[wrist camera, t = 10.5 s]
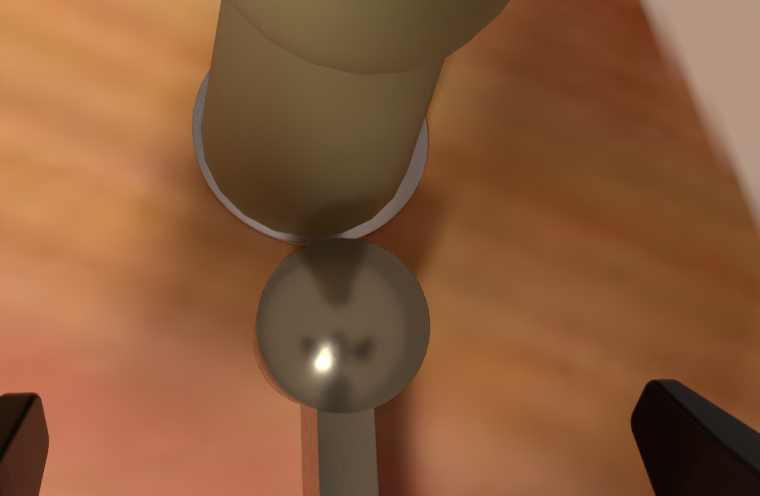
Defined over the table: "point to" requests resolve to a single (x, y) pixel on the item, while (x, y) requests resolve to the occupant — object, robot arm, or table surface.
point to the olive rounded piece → (325, 103)
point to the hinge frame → (338, 334)
